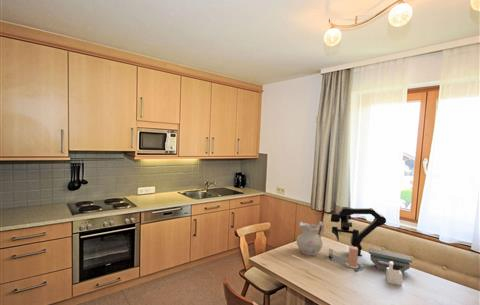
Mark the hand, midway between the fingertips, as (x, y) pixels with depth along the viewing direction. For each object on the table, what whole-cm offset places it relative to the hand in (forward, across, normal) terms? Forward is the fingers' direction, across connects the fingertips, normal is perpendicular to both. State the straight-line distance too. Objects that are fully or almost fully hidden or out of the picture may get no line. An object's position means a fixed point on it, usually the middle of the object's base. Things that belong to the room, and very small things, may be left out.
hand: (345, 242), depth 181 cm
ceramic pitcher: (+8, -25, +12) cm, 28 cm away
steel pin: (+9, -10, +9) cm, 16 cm away
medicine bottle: (+24, +27, -4) cm, 36 cm away
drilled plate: (+13, -1, +6) cm, 15 cm away
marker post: (+14, +5, +3) cm, 15 cm away
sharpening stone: (+11, +28, +8) cm, 32 cm away
